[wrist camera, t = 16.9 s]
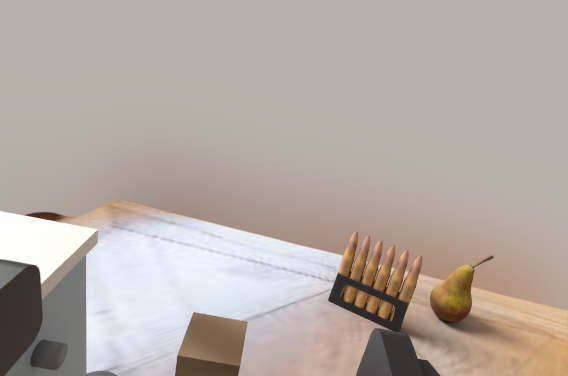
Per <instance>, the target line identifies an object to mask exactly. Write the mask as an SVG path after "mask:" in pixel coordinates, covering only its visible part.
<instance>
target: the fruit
mask: <svg viewBox="0 0 568 376" xmlns="http://www.w3.org/2000/svg"><path fill="white" fill-rule="evenodd" d="M492 258H493V256H490V257H488V258H486V259H484V260H482V261H481V262H480V263H477V264H475V265H473V266H470V265H464V266H461V267H459V268H458V269H456V270H455V271H454V272H453V273H452V274H451V275H450V276H449V277H448V278H447V279H446V280H445V281H444V282H442V283H441V284H439V285H437V286H436V287H435V288H434V289H433V291H432V292H431V296H430V303H431V307H432V309H433V311H434V313H435V314H436V315H437V316H438V317H439V318H441V319H443V320H445V321H448V322H458V321H460V320H462V319H464V318H465V317H466V316H467V315H468V314H469V312H470V310H471V306H472V298H471V284H472V280H473V273H474V267H475V266H477V265H479V264H481V263H483V262H485V261H487V260H490V259H492Z"/></svg>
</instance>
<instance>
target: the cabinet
mask: <svg viewBox="0 0 568 376" xmlns="http://www.w3.org/2000/svg"><path fill="white" fill-rule="evenodd" d="M97 240H98V230H97V229H92V228H87V227H81V226H76V225H71V224H65V223H60V222H55V221H49V220H44V219H39V218H33V217H28V216H22V215H17V214H11V213H6V212H1V211H0V259H5V260H11V261H16V262H22V263H27V264H33V265H36V266H37V267H38V268H39V270H40V277H41V294H42V311H43V320H42V325H41V328H40V331H39V333H38V335H37V337H36V339H35V340H34V342H33V343H32V345H31V346H30V347H29V348H28V349H27V351H26V352H25V353H24V354H23V355H22V356H21V357H20V359H19V360H18V361H17V362H16V363H15V364H14V366H13V367H12V368H11V369H10V370H9V371H8V372H7V374H6V375H5V376H86V254H87V253H88V252H89V251H90V250H91V249H92V248H93V247H94V246H95V245H96V244H97Z"/></svg>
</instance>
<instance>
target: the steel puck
mask: <svg viewBox="0 0 568 376" xmlns="http://www.w3.org/2000/svg"><path fill="white" fill-rule="evenodd" d="M86 376H117V375H115V374H114V373H111V372H107V371H96V372H91V373H88V374H86Z"/></svg>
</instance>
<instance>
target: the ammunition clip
mask: <svg viewBox="0 0 568 376" xmlns="http://www.w3.org/2000/svg"><path fill="white" fill-rule="evenodd" d="M357 242H358V232H357V231H356V232H355V233H354V234H353V235H352V237H351V239H350V241H349V244H348V247H347V249H346V252H345V254H344V255H343V258H342V262H341V265H340V268H339V271H338V274H337V277H336V280H335V283H334V285H333V288H332V291H331V293H330V296H329V299H328V300H329V302H332V303H334V304H336V305H338V306H340V307H342V308H345V309H347V310H349V311H351V312H353V313H355V314H358V315H360V316H362V317H364V318H366V319H368V320H371V321H373V322H375V323H377V324H379V325H381V326H383V327H386V328H388V329H390V330H392V331H395V332H399V331H400V328H401V325H402V322H403V319H404V316H405V313H406V311H407V308H408V305H409V303H410V300H411V298H412V295H413V293H414V290H415V288H416V284H417V279H418V276H419V273H420V269H421V265H422V256H419V257H418V258H417V259H416V260H415V262H414V263H413V265H412V267H411V269H410V272H409V273H408V276H407V277H406V279H405V280H404V283H403V285H402V288H401V290H400V287H401V284H402V282H403V277H404V273H405V269H406V266H407V262H408V251H407V250H406V251H405V252H404V253H403V255H402V256H401V258H400V259H399V261H398V263H397V266H396V268H395V270H394V272H393V274H392V275H391V278H390V280H389V277H390V272H391V267H392V263H393V260H394V256H395V246H394V245H393V246H392V247H391V248H390V249H389V251H388V252H387V254H386V256H385V259H384V261H383V263H382V266H381V267H380V269H379V271H378V264H379V261H380V257H381V253H382V245H383V244H382V241H379V242H378V244H377V245H376V247H375V248H374V251H373V253H372V256H371V258H370V260H369V262H368V264H367V266H366V259H367V255H368V251H369V247H370V236H367V237H366V239H365V240H364V242H363V243H362V245H361V248H360V251H359V253H358V256H357V258H356V259H355V261H354V256H355V251H356V247H357ZM353 262H354V265H353ZM352 265H353V268H352ZM365 266H366V269H365ZM351 268H352V271H351ZM364 269H365V271H364ZM377 271H378V273H377ZM363 272H364V274H363ZM376 274H377V276H376ZM362 275H363V277H362ZM375 277H376V279H375ZM374 280H375V282H374ZM388 280H389V283H388V286H387V287H386V285H387V282H388ZM346 285H347V286H346ZM345 288H346V289H345ZM399 290H400V292H399ZM344 291H345V292H344ZM357 291H358V292H357ZM356 294H357V295H356ZM369 294H370V296H369ZM355 297H356V298H355ZM368 297H369V299H368ZM367 300H368V302H367ZM381 300H382V302H381ZM380 302H381V304H380ZM379 305H380V307H379ZM393 306H394V308H393ZM392 308H393V311H392ZM391 311H392V313H391Z"/></svg>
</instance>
